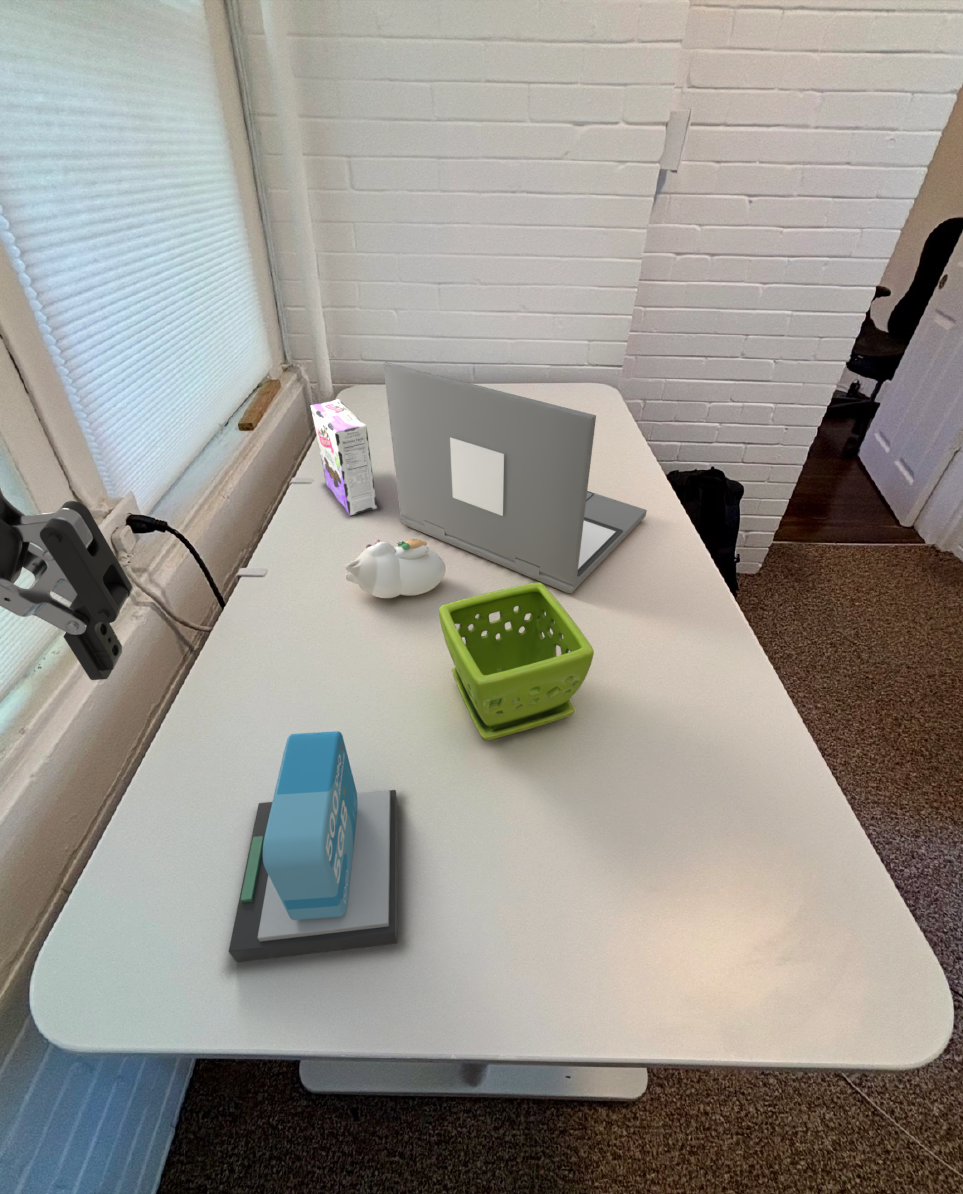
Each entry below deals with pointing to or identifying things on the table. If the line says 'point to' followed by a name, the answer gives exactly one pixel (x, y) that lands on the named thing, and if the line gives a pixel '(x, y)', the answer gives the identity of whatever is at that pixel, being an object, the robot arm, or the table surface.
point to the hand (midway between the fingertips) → (29, 675)
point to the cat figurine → (396, 569)
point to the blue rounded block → (312, 827)
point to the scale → (369, 900)
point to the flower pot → (515, 658)
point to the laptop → (501, 477)
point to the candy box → (345, 456)
